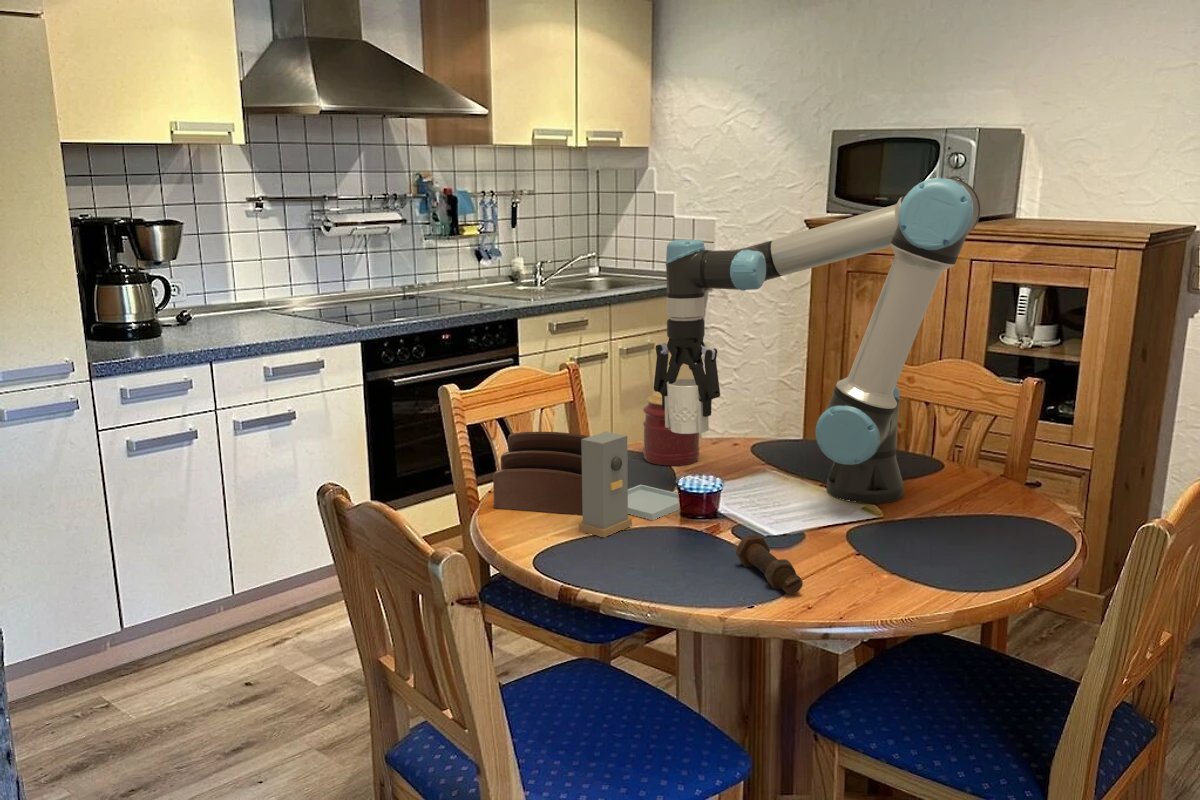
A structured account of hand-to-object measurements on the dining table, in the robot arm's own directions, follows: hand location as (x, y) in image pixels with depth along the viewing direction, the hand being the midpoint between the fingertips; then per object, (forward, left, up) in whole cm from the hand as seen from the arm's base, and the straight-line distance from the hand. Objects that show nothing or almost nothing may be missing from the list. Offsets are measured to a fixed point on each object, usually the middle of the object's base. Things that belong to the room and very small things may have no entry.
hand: (686, 428), depth 204 cm
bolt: (-38, +30, -14) cm, 50 cm away
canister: (+16, -17, -13) cm, 27 cm away
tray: (0, +13, -13) cm, 18 cm away
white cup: (0, 0, -1) cm, 1 cm away
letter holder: (+16, +25, -13) cm, 32 cm away
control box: (-2, +29, -13) cm, 31 cm away
